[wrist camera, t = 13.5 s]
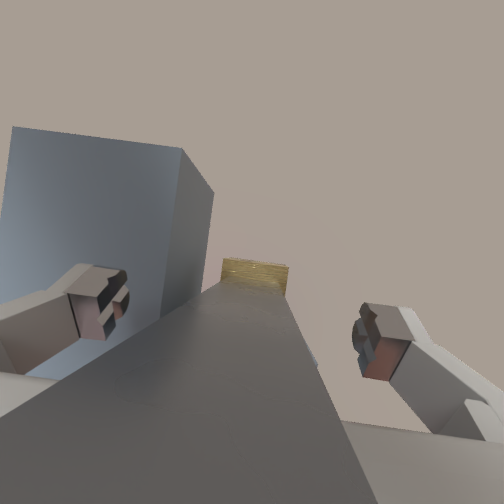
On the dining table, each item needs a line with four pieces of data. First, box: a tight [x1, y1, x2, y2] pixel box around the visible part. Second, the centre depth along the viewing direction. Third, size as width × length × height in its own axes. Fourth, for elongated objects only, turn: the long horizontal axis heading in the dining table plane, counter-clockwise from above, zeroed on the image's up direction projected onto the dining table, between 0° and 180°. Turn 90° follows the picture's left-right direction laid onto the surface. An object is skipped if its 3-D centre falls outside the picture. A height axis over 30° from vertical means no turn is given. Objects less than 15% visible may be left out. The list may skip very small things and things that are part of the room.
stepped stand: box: [0, 126, 318, 380], centre depth 18 cm, size 16×10×26 cm, turn 88°
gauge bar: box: [0, 258, 378, 504], centre depth 11 cm, size 4×20×4 cm, turn 177°
